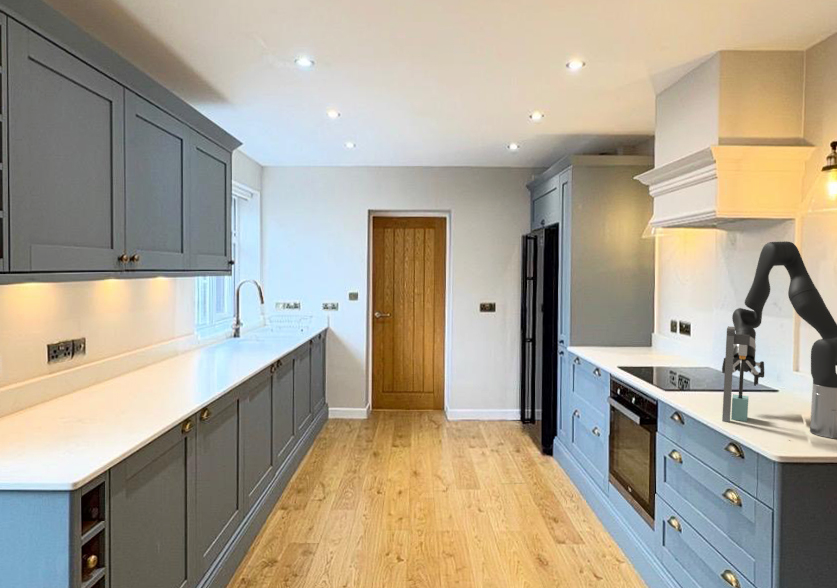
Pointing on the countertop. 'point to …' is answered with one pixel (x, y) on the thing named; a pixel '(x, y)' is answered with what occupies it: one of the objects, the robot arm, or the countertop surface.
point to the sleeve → (739, 408)
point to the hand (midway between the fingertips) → (742, 383)
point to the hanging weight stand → (730, 341)
